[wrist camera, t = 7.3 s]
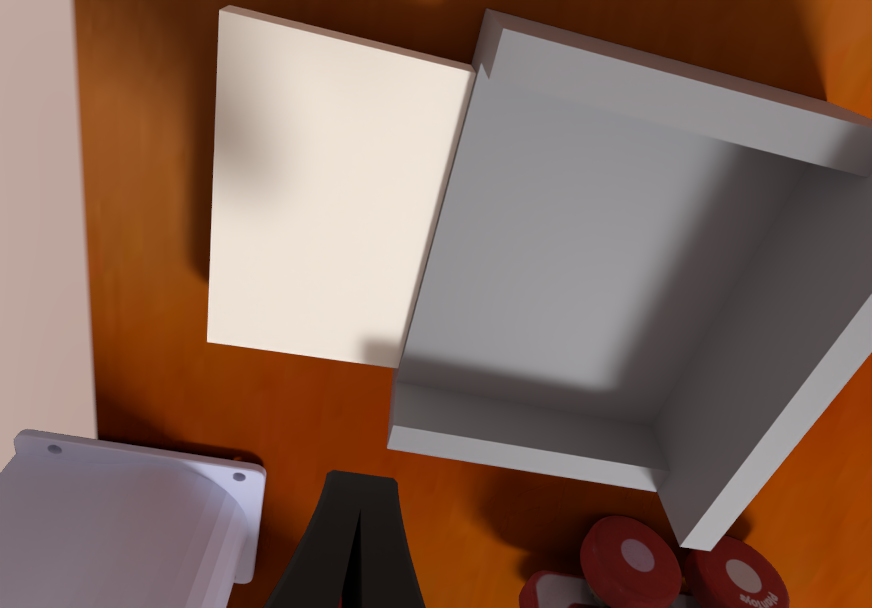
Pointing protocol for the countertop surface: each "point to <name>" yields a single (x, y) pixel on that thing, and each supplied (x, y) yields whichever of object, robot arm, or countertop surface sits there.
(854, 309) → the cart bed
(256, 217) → the panel
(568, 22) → the countertop surface
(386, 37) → the countertop surface
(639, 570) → the toy fire truck
